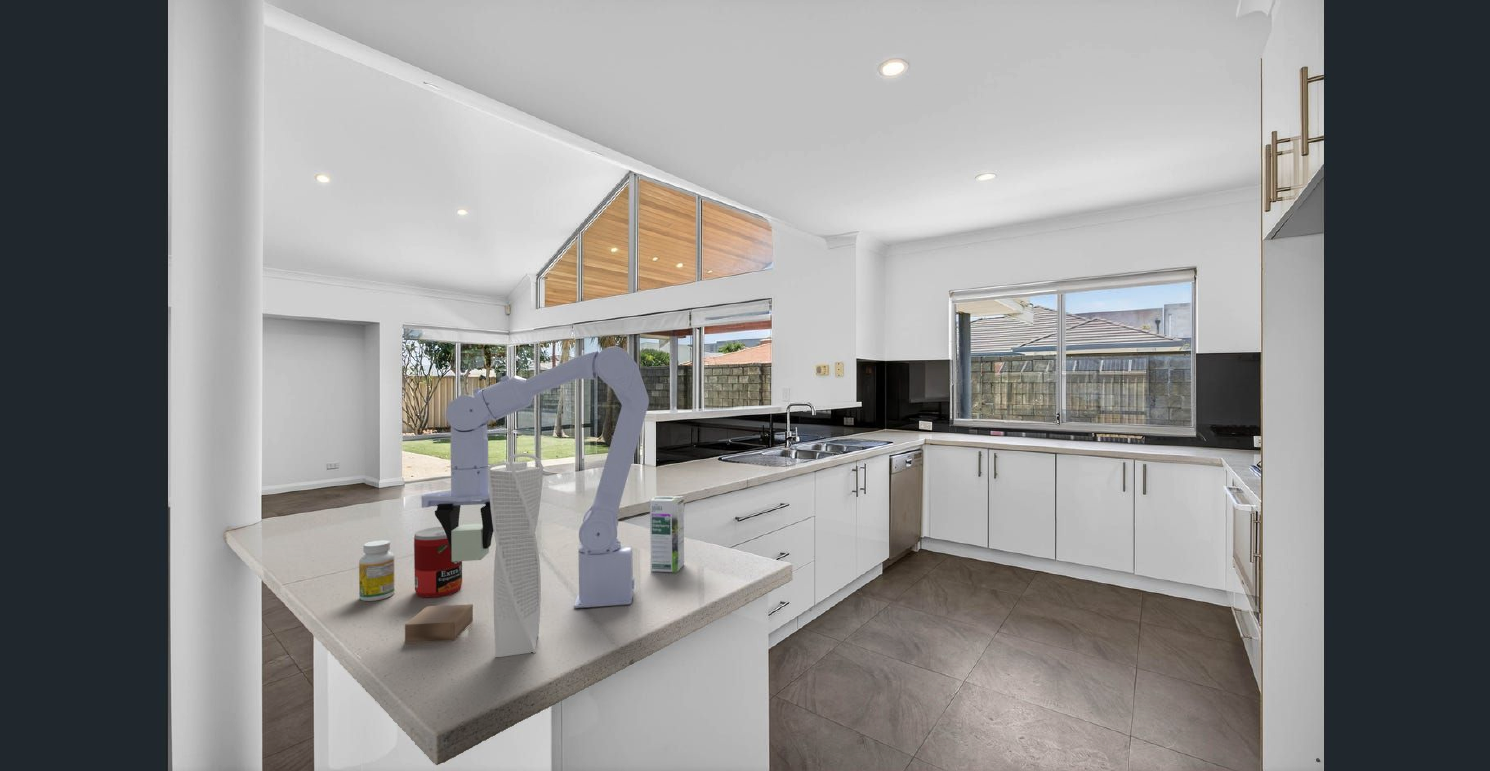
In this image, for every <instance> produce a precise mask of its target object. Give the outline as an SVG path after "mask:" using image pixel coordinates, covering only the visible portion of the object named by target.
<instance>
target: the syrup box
mask: <svg viewBox="0 0 1490 771" xmlns="http://www.w3.org/2000/svg"><path fill="white" fill-rule="evenodd" d="M684 500H685V499H684V495H683V496H682V495H681V496H680V495H679V496H677V495H676V496H674V495H673V496H671V495H668V496H667V495H665V496H664V495H656V496H654V497H653V498H651V499H650V501H649V524H650V525H649V528H650V535H649V536H650V540H649V541H650V564H649V565H650V572H651V573H654V572H657V573H658V572H659V573H660V572H661V573H678V572H679V571H680V570H681V569H682V567H683V566H684V564H685V526H684V525H685V524H684V523H685V520H684V518H685V517H684V516H685V511H684V510H685V509H684V508H685V507H684V506H685V505H684V502H685V501H684Z"/></svg>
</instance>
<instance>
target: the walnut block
mask: <svg viewBox="0 0 1490 771" xmlns="http://www.w3.org/2000/svg"><path fill="white" fill-rule="evenodd" d="M473 606H474V604H451V605H431V606H429V605H426V607H424V608H423V609H422V610H420V611H419V612H418V613H417V614H416V615H415V616H413V618H411V619H410V620H408V621H407V623H405V624H404V644H412V643H425V642H426V643H428V642H444V641H445V642H446V641H447V642H449V640H450V641H456V640H457V639H456V638H459V637H460V635H462V633H463V632H464V631H465V630H466V629H467V628H468V627H469V626H470V625H471V623H472V622H473V621H474V614H473V613H474V611H473V609H474V607H473ZM468 625H469V626H468ZM467 626H468V627H467ZM466 627H467V628H466ZM465 628H466V629H465ZM458 636H459V637H458ZM455 639H456V640H455Z"/></svg>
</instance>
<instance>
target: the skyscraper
mask: <svg viewBox="0 0 1490 771" xmlns="http://www.w3.org/2000/svg"><path fill="white" fill-rule="evenodd" d="M522 457H523V458H530V459H532V460H534V461H535V462H536V463H537V464H538V466H528V461H524V460H523V461H513V459H515V458H516V459H517V458H522ZM507 460H508V461H501V462H494V463H492V464H490V465H488V481H489V495H490V507H491V515H492V523H493V530H494V531H493V535H494V541H495V554H494V562H493V563H494V565H493V566H494V567H493V587H492V588H493V589H492V590H493V596H492V597H493V628H494V629H493V630H494V634H493V635H494V652H495V653H494V654H495V658H503V657H509V656H517V655H524V654H535V653H537V650H536V646H537V641H538V640H537V639H538V638H539V636H540V634H539V633H540V619H541V601H542V598H541V596H542V594H541V592H542V590H541V589H542V580H541V578H542V575H541V561H540V550H539V546H538V540H537V534H536V531H537V527H538V521H539V514H540V506H541V498H542V497H541V496H542V486H543V476H544V465H543V464H542V462H541V460H540V459H539V458H538V457H536V456H535V455H533V454H531V453H526V452H522V453H521V452H519V453H515V454H511V455H510V456H508V459H507ZM501 466H505V467H501ZM495 467H501V468H495ZM492 468H495V469H492ZM531 652H533V653H531Z"/></svg>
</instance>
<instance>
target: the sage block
mask: <svg viewBox="0 0 1490 771" xmlns="http://www.w3.org/2000/svg"><path fill="white" fill-rule="evenodd" d="M451 539H452V562H455V561H462V562H470V561H471V562H472V561H482V560H483V559H484V558H485V557H486V556H487V555H488V554H489V553H490V547H489V548H487V549H483V542H482V540H483V525H482V523H467V524H459V526H458V527H457V528H455V529H454V530H452V531H451Z"/></svg>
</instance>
